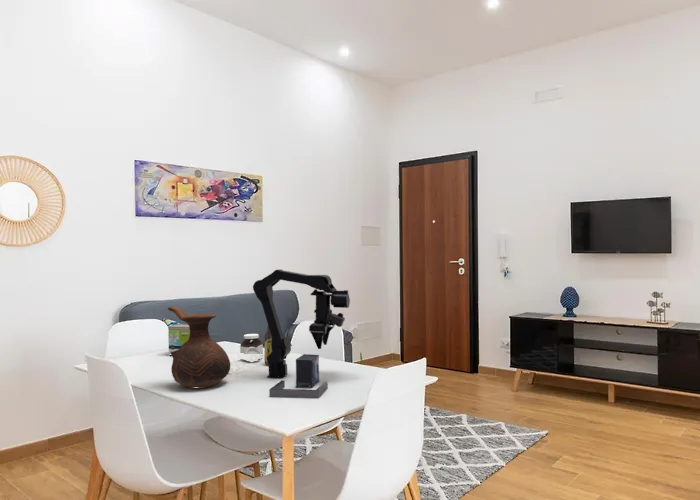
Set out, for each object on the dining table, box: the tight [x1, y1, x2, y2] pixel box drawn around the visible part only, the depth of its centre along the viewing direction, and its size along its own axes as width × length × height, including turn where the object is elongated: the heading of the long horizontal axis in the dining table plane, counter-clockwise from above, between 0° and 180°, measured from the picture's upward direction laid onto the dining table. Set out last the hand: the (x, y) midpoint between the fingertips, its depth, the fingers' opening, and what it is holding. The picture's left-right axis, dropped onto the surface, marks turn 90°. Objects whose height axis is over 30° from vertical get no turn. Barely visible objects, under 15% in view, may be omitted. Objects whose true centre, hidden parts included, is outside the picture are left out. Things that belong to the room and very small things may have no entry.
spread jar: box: [239, 333, 264, 355], centre depth 253 cm, size 12×11×12 cm
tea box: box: [167, 323, 190, 355], centre depth 272 cm, size 15×10×15 cm, turn 81°
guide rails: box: [268, 379, 329, 399], centre depth 193 cm, size 17×13×2 cm
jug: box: [167, 305, 231, 388], centre depth 209 cm, size 22×22×30 cm
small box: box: [295, 353, 320, 389], centre depth 205 cm, size 11×6×10 cm, turn 168°
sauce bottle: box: [263, 325, 272, 366], centre depth 243 cm, size 6×6×20 cm
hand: (322, 346), depth 215 cm, fingers open, 9 cm apart
